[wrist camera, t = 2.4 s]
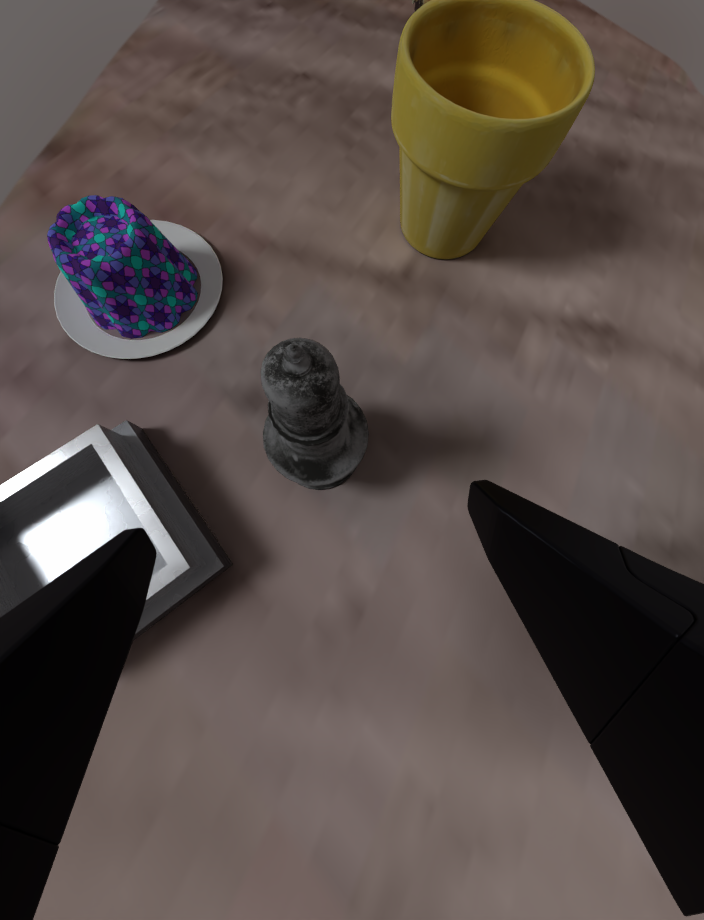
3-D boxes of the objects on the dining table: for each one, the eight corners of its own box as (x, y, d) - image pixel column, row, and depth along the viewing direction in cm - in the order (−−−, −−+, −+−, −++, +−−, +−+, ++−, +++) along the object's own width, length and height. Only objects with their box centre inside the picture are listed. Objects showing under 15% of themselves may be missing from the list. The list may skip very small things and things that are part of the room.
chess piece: (336, 394, 22) (328, 239, 11) (381, 466, 21) (426, 379, 10) (260, 435, 22) (162, 314, 10) (302, 511, 20) (247, 476, 9)
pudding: (251, 324, 24) (226, 266, 19) (90, 391, 22) (15, 348, 17) (192, 209, 26) (156, 130, 21) (43, 262, 25) (-34, 191, 20)
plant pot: (519, 199, 27) (615, 14, 17) (487, 297, 25) (578, 146, 15) (401, 163, 28) (432, -35, 18) (360, 255, 25) (370, 84, 16)
